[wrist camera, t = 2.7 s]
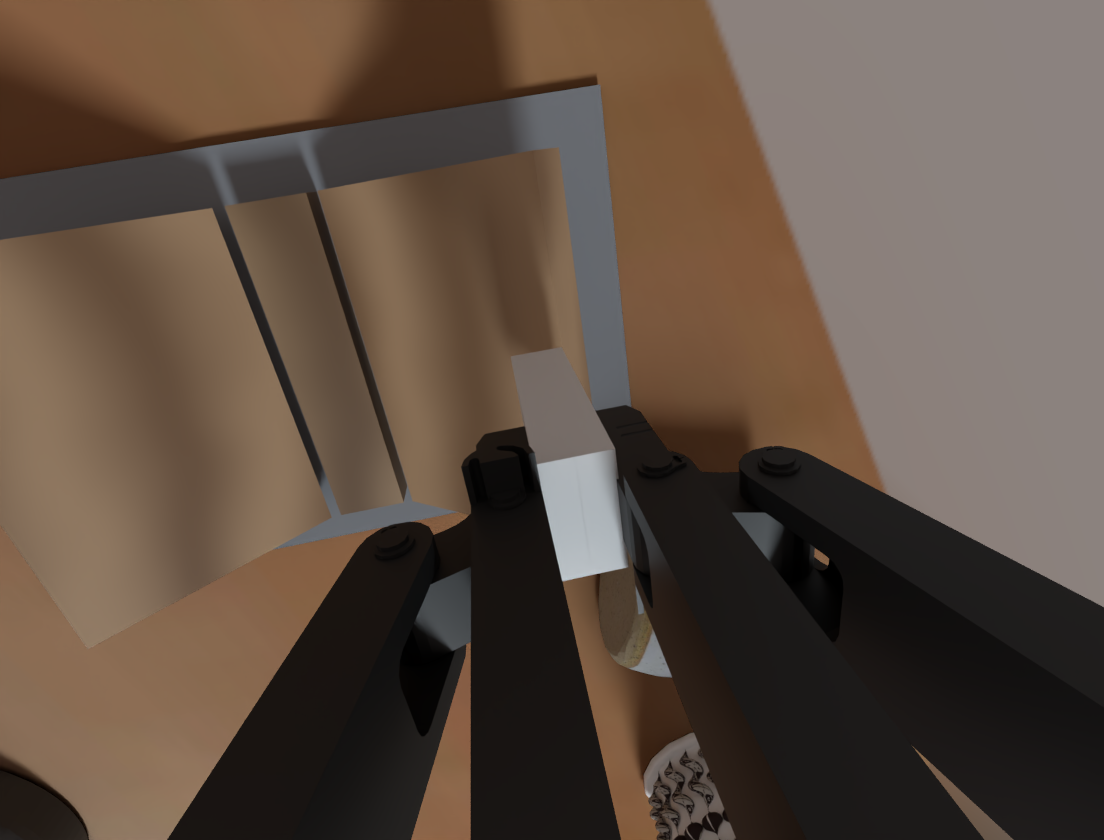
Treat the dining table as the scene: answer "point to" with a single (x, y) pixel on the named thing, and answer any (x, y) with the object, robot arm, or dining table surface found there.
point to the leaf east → (457, 300)
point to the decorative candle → (685, 794)
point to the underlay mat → (351, 160)
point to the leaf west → (140, 419)
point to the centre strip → (321, 346)
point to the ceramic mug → (628, 624)
